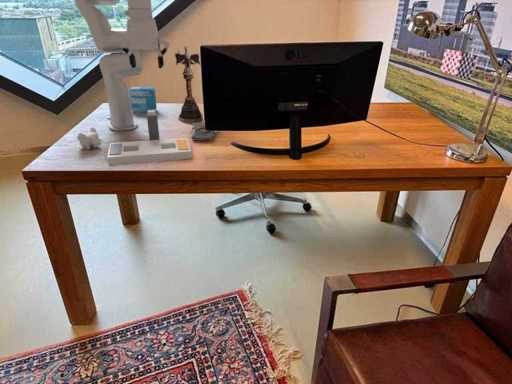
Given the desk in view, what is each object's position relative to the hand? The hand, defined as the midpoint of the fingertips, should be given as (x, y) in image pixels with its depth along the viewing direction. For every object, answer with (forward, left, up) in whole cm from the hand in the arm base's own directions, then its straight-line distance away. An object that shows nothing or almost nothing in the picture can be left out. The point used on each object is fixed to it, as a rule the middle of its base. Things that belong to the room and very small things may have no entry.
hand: (147, 67), depth 129 cm
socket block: (+2, -5, -32) cm, 32 cm away
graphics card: (+6, +23, -32) cm, 40 cm away
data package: (-39, +34, -32) cm, 61 cm away
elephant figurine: (-22, -13, -32) cm, 41 cm away
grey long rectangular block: (-5, +5, -32) cm, 32 cm away
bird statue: (-14, +39, -32) cm, 52 cm away
